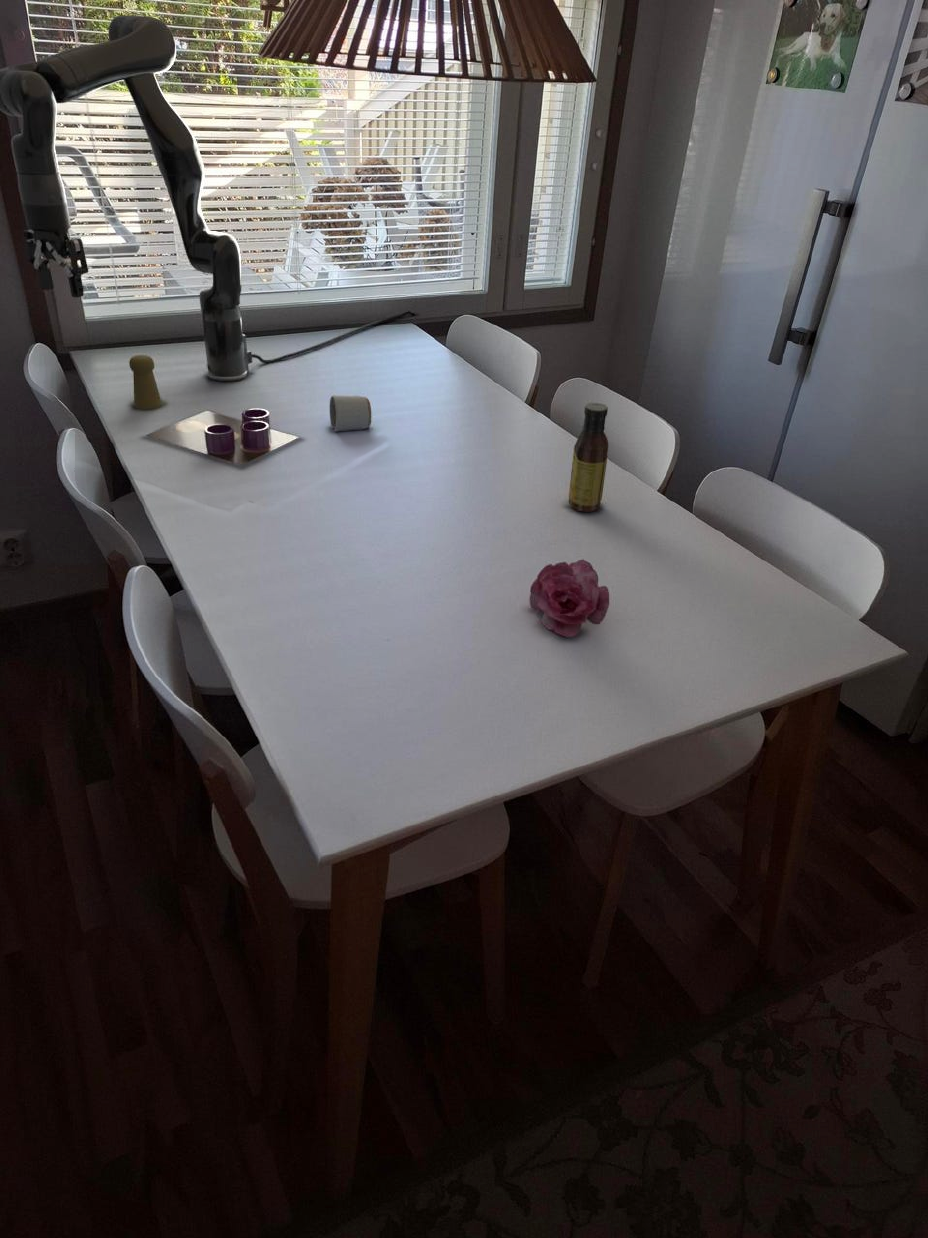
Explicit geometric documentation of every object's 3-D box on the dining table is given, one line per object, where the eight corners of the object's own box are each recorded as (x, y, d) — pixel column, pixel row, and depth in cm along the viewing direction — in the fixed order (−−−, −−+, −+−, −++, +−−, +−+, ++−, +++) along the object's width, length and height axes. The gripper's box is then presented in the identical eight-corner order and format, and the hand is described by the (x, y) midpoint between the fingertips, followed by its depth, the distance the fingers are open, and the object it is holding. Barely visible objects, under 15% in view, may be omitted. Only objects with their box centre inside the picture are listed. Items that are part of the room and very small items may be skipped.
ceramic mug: (373, 433, 187) (372, 399, 182) (336, 436, 184) (335, 402, 180) (361, 417, 195) (360, 384, 191) (325, 420, 192) (324, 386, 188)
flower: (574, 660, 126) (544, 619, 120) (542, 629, 134) (512, 589, 128) (633, 610, 127) (605, 567, 120) (597, 582, 134) (569, 540, 128)
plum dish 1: (220, 441, 177) (218, 421, 175) (241, 448, 175) (239, 427, 173) (201, 450, 173) (198, 429, 171) (222, 457, 171) (219, 436, 169)
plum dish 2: (255, 426, 185) (254, 406, 183) (276, 432, 183) (274, 412, 181) (238, 434, 181) (236, 414, 179) (258, 440, 179) (257, 420, 177)
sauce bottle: (581, 496, 166) (595, 396, 155) (607, 507, 162) (623, 406, 151) (559, 505, 162) (572, 404, 151) (585, 517, 159) (600, 414, 147)
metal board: (207, 413, 192) (207, 410, 192) (299, 439, 182) (299, 437, 182) (146, 437, 179) (145, 435, 178) (241, 468, 169) (241, 465, 168)
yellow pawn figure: (157, 410, 192) (149, 361, 186) (130, 408, 192) (121, 359, 186) (165, 400, 197) (158, 352, 191) (139, 399, 197) (131, 351, 191)
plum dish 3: (254, 438, 180) (253, 418, 177) (275, 444, 178) (274, 424, 175) (236, 447, 176) (234, 426, 173) (257, 453, 173) (256, 433, 171)
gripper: (88, 202, 155) (104, 295, 164) (36, 193, 161) (54, 283, 170) (52, 207, 150) (71, 303, 159) (0, 197, 155) (21, 290, 164)
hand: (62, 292), depth 164 cm, fingers open, 8 cm apart
